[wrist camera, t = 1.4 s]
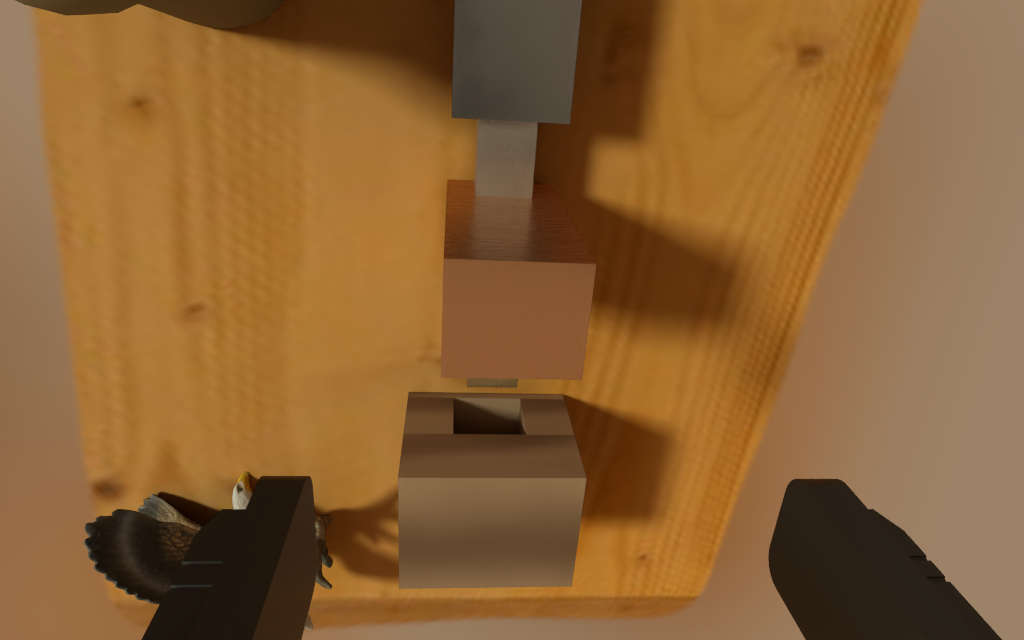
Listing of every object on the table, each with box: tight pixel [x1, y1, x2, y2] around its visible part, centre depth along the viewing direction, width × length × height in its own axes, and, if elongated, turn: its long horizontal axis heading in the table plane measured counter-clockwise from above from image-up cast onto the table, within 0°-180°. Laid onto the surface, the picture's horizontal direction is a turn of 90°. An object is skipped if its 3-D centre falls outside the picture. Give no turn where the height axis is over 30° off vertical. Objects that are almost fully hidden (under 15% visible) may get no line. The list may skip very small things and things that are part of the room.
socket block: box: [398, 392, 587, 589], centre depth 28 cm, size 6×7×6 cm
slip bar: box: [441, 119, 597, 387], centre depth 21 cm, size 18×4×9 cm, turn 176°
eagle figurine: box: [84, 472, 333, 630], centre depth 29 cm, size 8×7×9 cm
